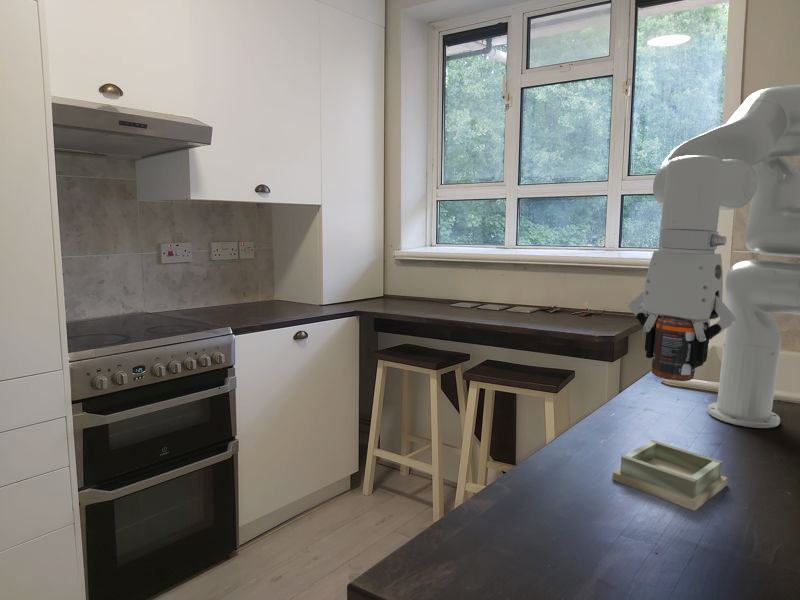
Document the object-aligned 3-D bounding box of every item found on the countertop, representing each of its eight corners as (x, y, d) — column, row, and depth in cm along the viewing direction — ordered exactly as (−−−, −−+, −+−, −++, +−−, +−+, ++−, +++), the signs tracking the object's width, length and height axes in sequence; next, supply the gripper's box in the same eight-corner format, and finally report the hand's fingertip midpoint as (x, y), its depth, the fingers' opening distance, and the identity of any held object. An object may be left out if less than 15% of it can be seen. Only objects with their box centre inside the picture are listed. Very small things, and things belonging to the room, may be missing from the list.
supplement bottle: (698, 384, 86) (707, 308, 84) (655, 380, 87) (663, 305, 85) (688, 373, 91) (696, 302, 90) (647, 370, 93) (655, 299, 91)
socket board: (648, 458, 96) (650, 437, 96) (726, 485, 88) (729, 461, 87) (612, 479, 88) (614, 456, 88) (694, 511, 80) (697, 485, 79)
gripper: (760, 246, 82) (745, 370, 85) (642, 239, 95) (631, 347, 98) (741, 246, 77) (725, 378, 80) (619, 239, 90) (608, 353, 93)
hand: (674, 360), depth 89 cm, fingers closed on supplement bottle, 6 cm apart
